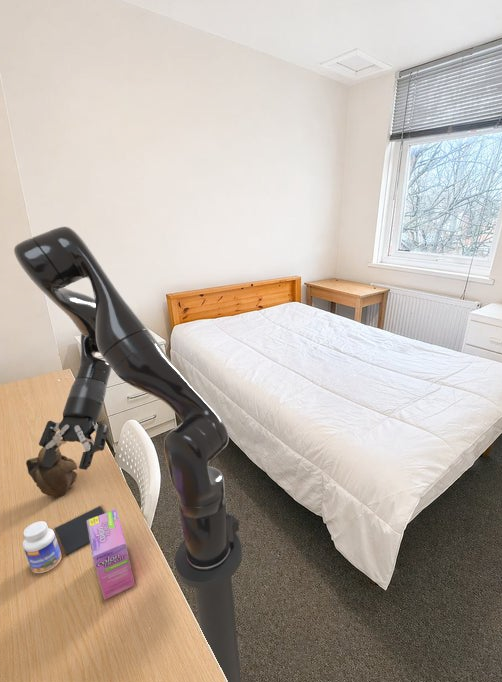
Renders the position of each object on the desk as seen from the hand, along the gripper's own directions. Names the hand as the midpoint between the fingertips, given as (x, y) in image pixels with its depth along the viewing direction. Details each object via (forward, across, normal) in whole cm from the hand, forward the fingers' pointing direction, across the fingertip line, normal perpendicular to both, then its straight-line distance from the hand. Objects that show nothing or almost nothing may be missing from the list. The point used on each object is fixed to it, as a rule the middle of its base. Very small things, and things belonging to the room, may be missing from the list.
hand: (64, 468), depth 79 cm
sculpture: (+5, -12, +18) cm, 22 cm away
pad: (+13, +2, +10) cm, 16 cm away
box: (+20, +16, +3) cm, 26 cm away
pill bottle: (+19, 0, +4) cm, 20 cm away
